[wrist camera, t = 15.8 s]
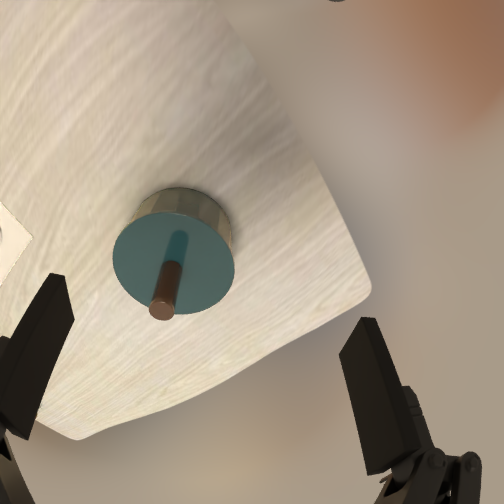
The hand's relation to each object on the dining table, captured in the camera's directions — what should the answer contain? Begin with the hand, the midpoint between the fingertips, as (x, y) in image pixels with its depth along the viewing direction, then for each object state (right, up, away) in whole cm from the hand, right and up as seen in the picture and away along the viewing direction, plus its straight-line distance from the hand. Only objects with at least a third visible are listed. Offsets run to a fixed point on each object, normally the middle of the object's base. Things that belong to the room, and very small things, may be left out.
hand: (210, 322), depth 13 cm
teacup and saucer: (-47, +7, +27) cm, 54 cm away
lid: (-8, +1, +23) cm, 25 cm away
